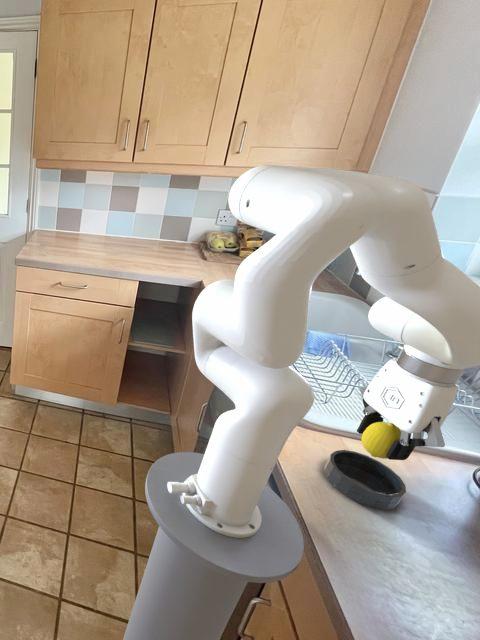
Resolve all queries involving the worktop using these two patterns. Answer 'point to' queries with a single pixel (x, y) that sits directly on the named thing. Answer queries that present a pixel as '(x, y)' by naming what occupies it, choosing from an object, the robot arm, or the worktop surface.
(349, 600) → the worktop surface
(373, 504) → the pan
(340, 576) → the worktop surface
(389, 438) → the lemon
